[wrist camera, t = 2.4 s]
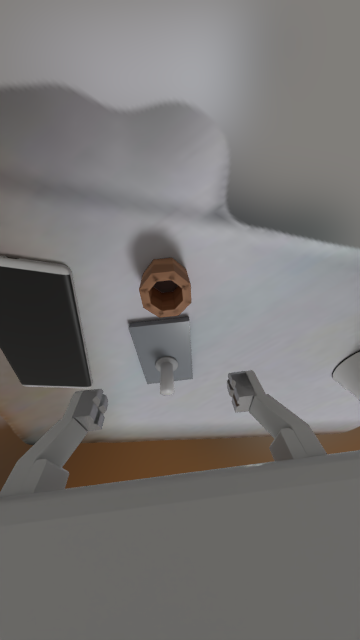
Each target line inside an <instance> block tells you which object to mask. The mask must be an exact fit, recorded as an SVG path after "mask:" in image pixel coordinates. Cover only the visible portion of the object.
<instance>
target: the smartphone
mask: <svg viewBox="0 0 360 640" xmlns="http://www.w3.org/2000/svg"><path fill="white" fill-rule="evenodd" d="M0 348H1V350H2V351H3V353H4V355H5V356H6V358H7V360H8V361H9V363H10V365H11V367H12V368H13V370H14V372H15V373H16V375H17V377H18V379H19V380H20V382H21V384H22V385H23V386H28V387H59V388H90V387H91V386H92V383H93V382H92V377H91V371H90V366H89V360H88V355H87V350H86V344H85V339H84V334H83V328H82V323H81V318H80V312H79V307H78V302H77V296H76V291H75V286H74V281H73V275H72V271H71V269H70V268H69V267H68V266H66V265H63V264H56V263H50V262H43V261H36V260H29V259H22V258H18V259H11V258H8V257H7V256H1V255H0Z"/></svg>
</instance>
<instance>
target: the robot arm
mask: <svg viewBox="0 0 360 640" xmlns="http://www.w3.org/2000/svg"><path fill="white" fill-rule="evenodd" d="M228 378H229V379H228V380H227V388H228V392H229V395H230V396H231V397H232V404H233V407H234V410H235V412H246V411H249V413H250V414H251V415H252V416H253V417H254V418H255V419H256V420H257V421H258V422H259V423H260V424H261V425H262V426H263V427H264V428H265V429H266V430H267V431H268V432H269V433H270V434H271V435H272V436H273V437H274V438H275V439H274V441H273V442H272V444H271V445H270V451H271V453H272V455H273V458H274V460H275V462H267V463H260V464H252V465H244V466H237V467H229V468H221V469H214V470H206V471H199V472H191V473H185V474H184V473H183V474H176V475H168V476H160V477H153V478H146V479H138V480H130V481H123V482H115V483H107V484H100V485H92V486H84V487H77V488H70V489H64V488H65V485H66V482H67V479H68V476H69V473H68V471H66V470H64V469H63V468H62V466H63V465H64V464H65V463H66V461H67V460H68V458H69V457H70V456H71V454H72V453H73V452H74V450H75V449H76V448H77V446H78V445H79V443H80V442H81V441H82V439H83V438H84V437H85V435H86V434H87V433H88V432H87V431H93V430H100V429H102V426H103V422H104V418H105V417H104V415H103V414H104V413H105V411H106V410H107V406H108V399H107V396H106V395H104V394H103V390H102V389H94V390H84V391H76V392H75V393H74V394H73V396H72V399H71V401H70V403H69V405H68V408H67V410H66V412H65V414H64V416H63V419H62V420H59V421H58V422H57V423H56V424H55V425H54V426H53V427H52V428H51V429H50V430H49V431H48V432H47V433H46V434H45V435H44V436H43V437H42V438H41V439H40V440H39V441H38V442H37V443H36V444H35V445H34V446H33V447H31V449H29V450H28V452H26V453H25V454H24V455H23V456H22V457H21V458H20V459H19V460H18V461H17V463H16V465H15V467H14V468H13V470H12V472H11V474H10V476H9V477H8V479H7V481H6V483H5V485H4V486H3V488H2V490H1V492H0V640H360V450H359V451H351V452H344V453H336V454H328V455H327V453H326V452H325V450H324V448H323V447H322V445H321V444H320V442H319V441H318V439H317V437H316V436H315V434H314V433H313V431H312V430H311V428H310V426H309V425H308V424H307V423H305V422H304V421H303V420H302V419H300V418H299V417H298V416H296V415H295V414H294V413H292V412H291V411H290V410H288V409H287V408H286V407H284V406H283V405H282V404H281V403H279V402H278V401H277V400H275V399H274V398H273V397H271V396H270V395H269V394H265V392H264V390H263V388H262V386H261V384H260V382H259V380H258V379H257V377H256V375H255V373H254V371H252V370H250V371H241V372H233V373H229V374H228ZM333 379H334V380H335V381H336V382H338V383H339V384H340V385H341V386H342V387H343V388H344V389H345V390H348V391H349V392H350V393H352V394H353V395H354V396H355V397H356V398H357V399H358V400H359V401H360V352H358V353H356V354H354V355H352V356H351V357H349V358H348V359H346V360H345V361H344V362H342V363H341V364H340V365H339V366H338V367H337V368H336V370H335V371H334V373H333Z"/></svg>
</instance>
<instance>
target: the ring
mask: <svg viewBox="0 0 360 640" xmlns="http://www.w3.org/2000/svg"><path fill="white" fill-rule="evenodd" d="M167 280H172V281H173V282H174V283H176V284H177V285H178V286H177V288H176V289H175V290H174V291H173V292H164V293H162V292H160V291H159V290H157V289H156V288H154V287H153V286H154V284H155V283H156V282H158V281H167ZM139 291H140V296H141V300H142V304H143V308H145V309H146V310H148V311H150V312H151V313H153V314H155V315H156V316H158V317H159V318H161V317H170V316H179V315H180V314H181V313H182V312H183V311H184V310H185V308H186V307H187V306H188V305H189V304H190V303H191V284H190V281H189V277H188V274H187V271H186V269H185V268H184V267H183V266H182V265H180V264H179V263H178V262H177V261H176V260H174V259H173V258H164V259H154V260H153V261H152V262H151V264H150V265H149V267H148V268H147V269H146V271H145V272H144V273H143V276H142V280H141V284H140V288H139Z"/></svg>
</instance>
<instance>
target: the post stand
mask: <svg viewBox="0 0 360 640" xmlns="http://www.w3.org/2000/svg"><path fill="white" fill-rule="evenodd" d="M129 331H130V334H131V337H132V340H133V343H134V346H135V349H136V352H137V355H138V358H139V360H140V363H141V366H142V369H143V372H144V375H145V378H146V381H147V384H152V383H160V394H161V395H164V396H170V395H172V394H173V393H174V381H178V380H187V379H193V375H192V356H191V338H190V321H189V317H182V318H173V319H164V320H155V321H145V322H136V323H130V324H129Z"/></svg>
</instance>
